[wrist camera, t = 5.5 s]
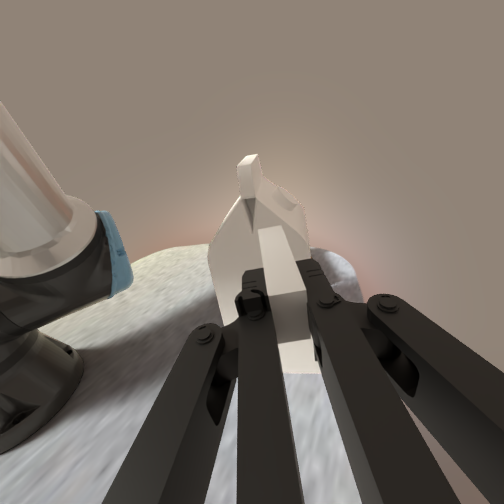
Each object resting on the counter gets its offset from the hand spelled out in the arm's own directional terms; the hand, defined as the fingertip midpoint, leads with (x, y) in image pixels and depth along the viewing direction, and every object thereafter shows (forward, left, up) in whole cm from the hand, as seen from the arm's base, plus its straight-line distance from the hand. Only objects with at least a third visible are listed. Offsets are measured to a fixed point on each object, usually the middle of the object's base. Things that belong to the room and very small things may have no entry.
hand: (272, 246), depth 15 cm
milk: (-1, +12, -22) cm, 25 cm away
